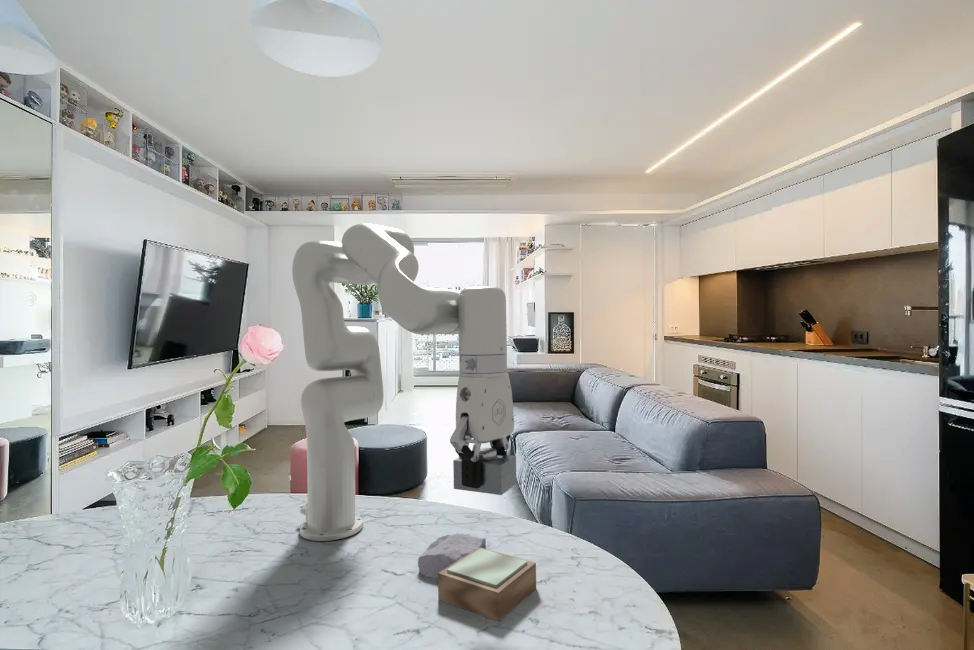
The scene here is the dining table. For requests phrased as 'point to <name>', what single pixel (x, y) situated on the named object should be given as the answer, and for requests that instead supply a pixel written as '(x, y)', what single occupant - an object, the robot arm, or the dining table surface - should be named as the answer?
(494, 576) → the stand
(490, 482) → the housing
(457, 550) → the stone block
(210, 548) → the dining table surface
